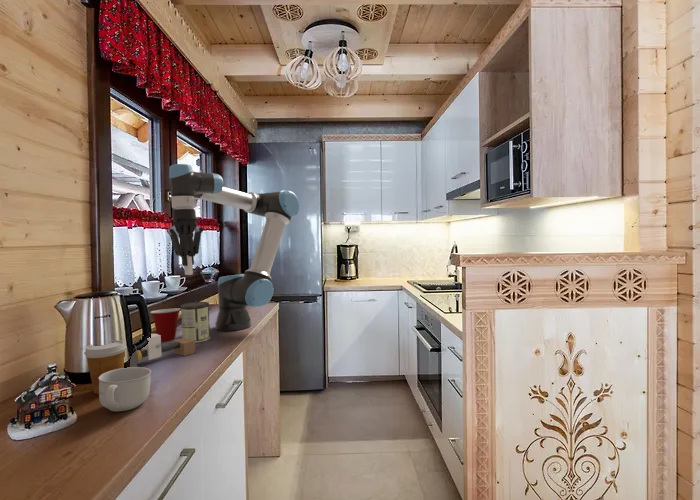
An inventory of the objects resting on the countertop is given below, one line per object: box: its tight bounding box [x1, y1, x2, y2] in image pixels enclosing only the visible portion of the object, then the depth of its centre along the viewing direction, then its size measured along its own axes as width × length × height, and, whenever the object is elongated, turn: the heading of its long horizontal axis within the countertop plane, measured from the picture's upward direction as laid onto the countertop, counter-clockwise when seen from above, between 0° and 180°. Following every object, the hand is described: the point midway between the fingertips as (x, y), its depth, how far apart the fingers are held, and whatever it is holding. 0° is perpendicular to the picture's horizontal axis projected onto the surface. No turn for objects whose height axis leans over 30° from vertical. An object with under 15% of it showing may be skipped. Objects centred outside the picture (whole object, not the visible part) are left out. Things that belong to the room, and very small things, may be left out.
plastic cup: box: [150, 307, 181, 342], centre depth 150 cm, size 11×11×12 cm
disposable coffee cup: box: [83, 339, 127, 395], centre depth 101 cm, size 10×10×12 cm
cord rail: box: [130, 337, 196, 367], centre depth 125 cm, size 22×7×7 cm, turn 144°
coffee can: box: [180, 301, 211, 344], centre depth 148 cm, size 10×10×14 cm
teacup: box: [98, 366, 152, 412], centre depth 89 cm, size 14×11×8 cm
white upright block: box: [141, 333, 162, 361], centre depth 123 cm, size 4×4×7 cm
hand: (188, 274), depth 136 cm, fingers closed
